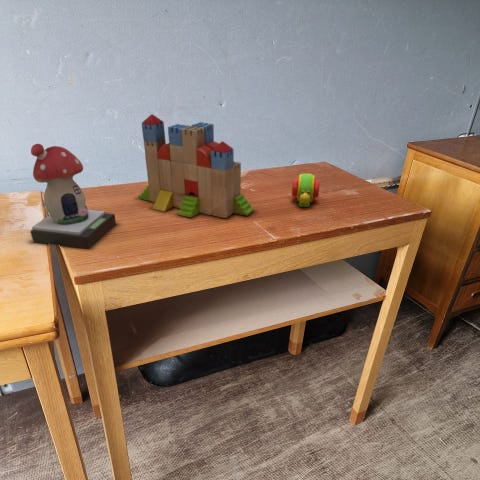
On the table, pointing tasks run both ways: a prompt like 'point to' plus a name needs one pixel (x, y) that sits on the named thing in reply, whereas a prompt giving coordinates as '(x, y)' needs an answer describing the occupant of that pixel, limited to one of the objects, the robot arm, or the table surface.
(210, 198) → the block set
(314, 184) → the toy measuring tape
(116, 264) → the table surface
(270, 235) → the table surface
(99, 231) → the kitchen scale
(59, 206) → the decorative ornament
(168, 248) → the table surface
